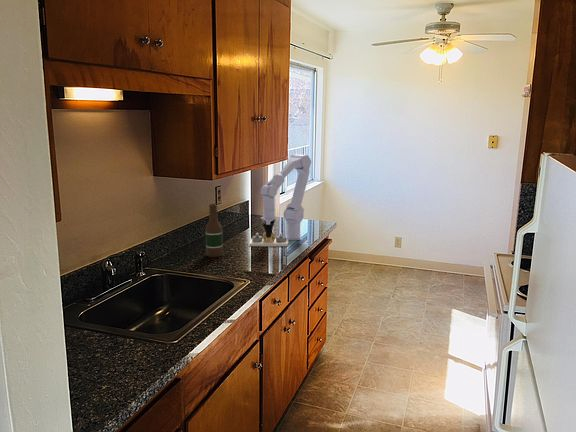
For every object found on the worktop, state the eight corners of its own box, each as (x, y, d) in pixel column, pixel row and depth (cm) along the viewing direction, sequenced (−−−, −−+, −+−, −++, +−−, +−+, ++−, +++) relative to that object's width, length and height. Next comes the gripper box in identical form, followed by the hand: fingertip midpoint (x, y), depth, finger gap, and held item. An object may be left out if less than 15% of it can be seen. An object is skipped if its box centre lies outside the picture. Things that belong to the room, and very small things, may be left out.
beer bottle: (226, 254, 225) (225, 204, 220) (213, 258, 219) (211, 206, 214) (215, 251, 230) (214, 202, 225) (202, 255, 224) (200, 204, 219)
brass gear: (274, 239, 246) (274, 231, 245) (274, 242, 241) (274, 234, 240) (263, 239, 246) (263, 231, 246) (263, 242, 241) (263, 234, 240)
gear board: (251, 241, 248) (251, 231, 247) (288, 241, 248) (288, 231, 247) (249, 246, 240) (249, 235, 239) (287, 246, 239) (287, 235, 238)
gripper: (262, 206, 247) (262, 232, 250) (259, 211, 233) (260, 239, 236) (275, 206, 247) (276, 232, 250) (274, 211, 233) (274, 239, 236)
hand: (269, 235), depth 243 cm, fingers open, 7 cm apart
